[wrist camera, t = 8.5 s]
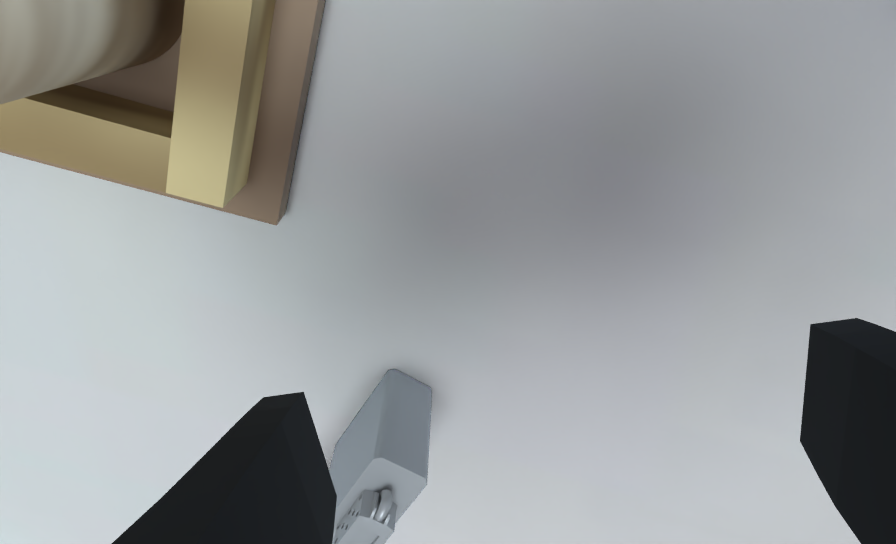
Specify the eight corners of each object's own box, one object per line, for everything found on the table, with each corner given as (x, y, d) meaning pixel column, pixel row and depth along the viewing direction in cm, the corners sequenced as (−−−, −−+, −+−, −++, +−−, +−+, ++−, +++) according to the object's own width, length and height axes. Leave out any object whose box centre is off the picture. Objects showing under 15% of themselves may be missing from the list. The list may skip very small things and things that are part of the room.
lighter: (390, 366, 21) (357, 570, 14) (434, 389, 22) (424, 599, 14) (296, 500, 24) (228, 729, 17) (337, 518, 24) (287, 750, 17)
